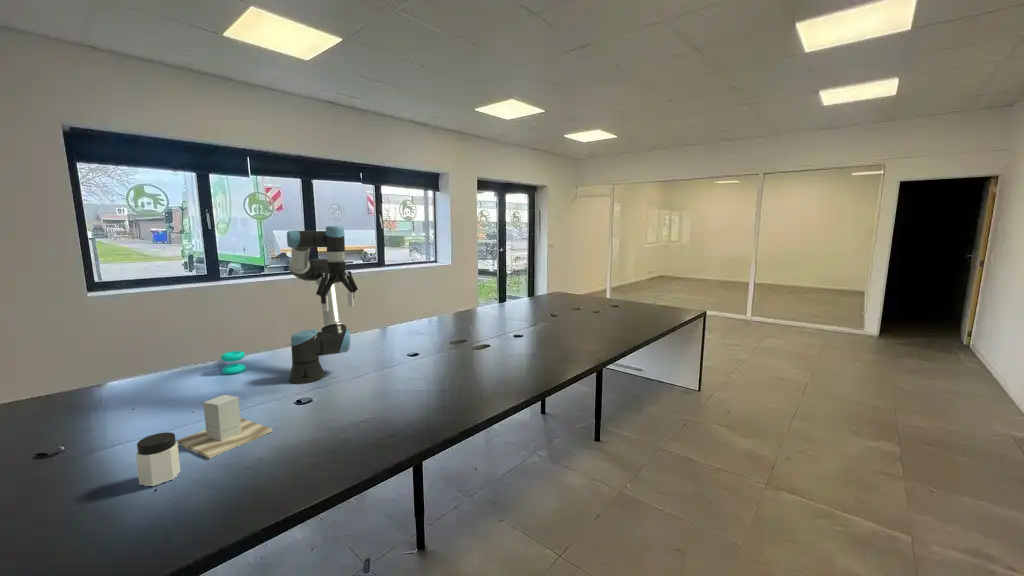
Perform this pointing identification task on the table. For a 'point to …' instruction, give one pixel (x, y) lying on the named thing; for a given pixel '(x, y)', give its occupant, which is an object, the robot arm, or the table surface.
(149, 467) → the jar
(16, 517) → the table surface
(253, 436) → the birch board
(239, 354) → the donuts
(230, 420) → the supplement box
